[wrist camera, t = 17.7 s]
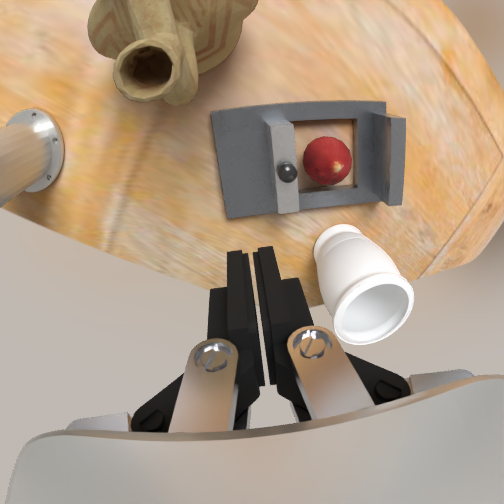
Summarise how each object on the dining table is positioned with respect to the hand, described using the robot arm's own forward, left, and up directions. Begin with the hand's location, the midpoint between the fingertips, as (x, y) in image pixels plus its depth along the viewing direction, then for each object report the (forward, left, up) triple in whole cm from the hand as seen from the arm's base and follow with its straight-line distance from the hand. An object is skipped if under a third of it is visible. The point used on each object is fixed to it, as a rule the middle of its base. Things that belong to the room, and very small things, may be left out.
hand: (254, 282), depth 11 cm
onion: (+10, -3, -29) cm, 31 cm away
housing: (+8, -2, -29) cm, 30 cm away
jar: (+13, -17, -29) cm, 36 cm away
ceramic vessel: (-5, +16, -29) cm, 33 cm away
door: (+5, -3, -27) cm, 28 cm away
